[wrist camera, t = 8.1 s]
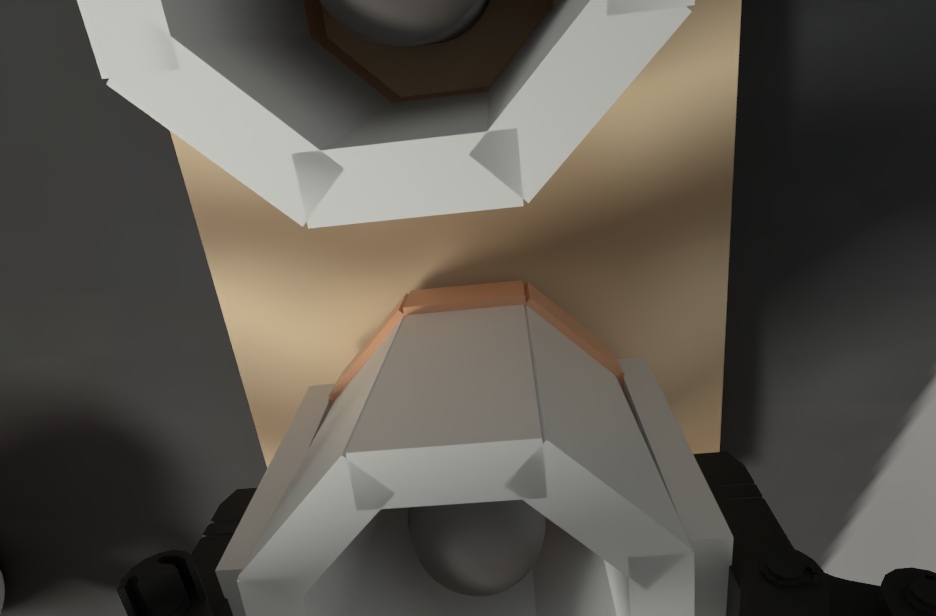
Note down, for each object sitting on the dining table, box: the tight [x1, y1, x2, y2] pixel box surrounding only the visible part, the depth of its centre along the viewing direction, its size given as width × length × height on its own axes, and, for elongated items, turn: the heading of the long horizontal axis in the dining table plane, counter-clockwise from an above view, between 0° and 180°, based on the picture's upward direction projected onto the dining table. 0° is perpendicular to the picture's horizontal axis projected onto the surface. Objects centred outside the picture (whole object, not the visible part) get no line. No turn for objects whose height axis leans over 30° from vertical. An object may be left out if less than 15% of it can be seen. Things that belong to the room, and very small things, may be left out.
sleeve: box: [237, 280, 695, 616], centre depth 14 cm, size 8×8×8 cm
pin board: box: [170, 0, 742, 596], centre depth 14 cm, size 22×14×9 cm, turn 7°
